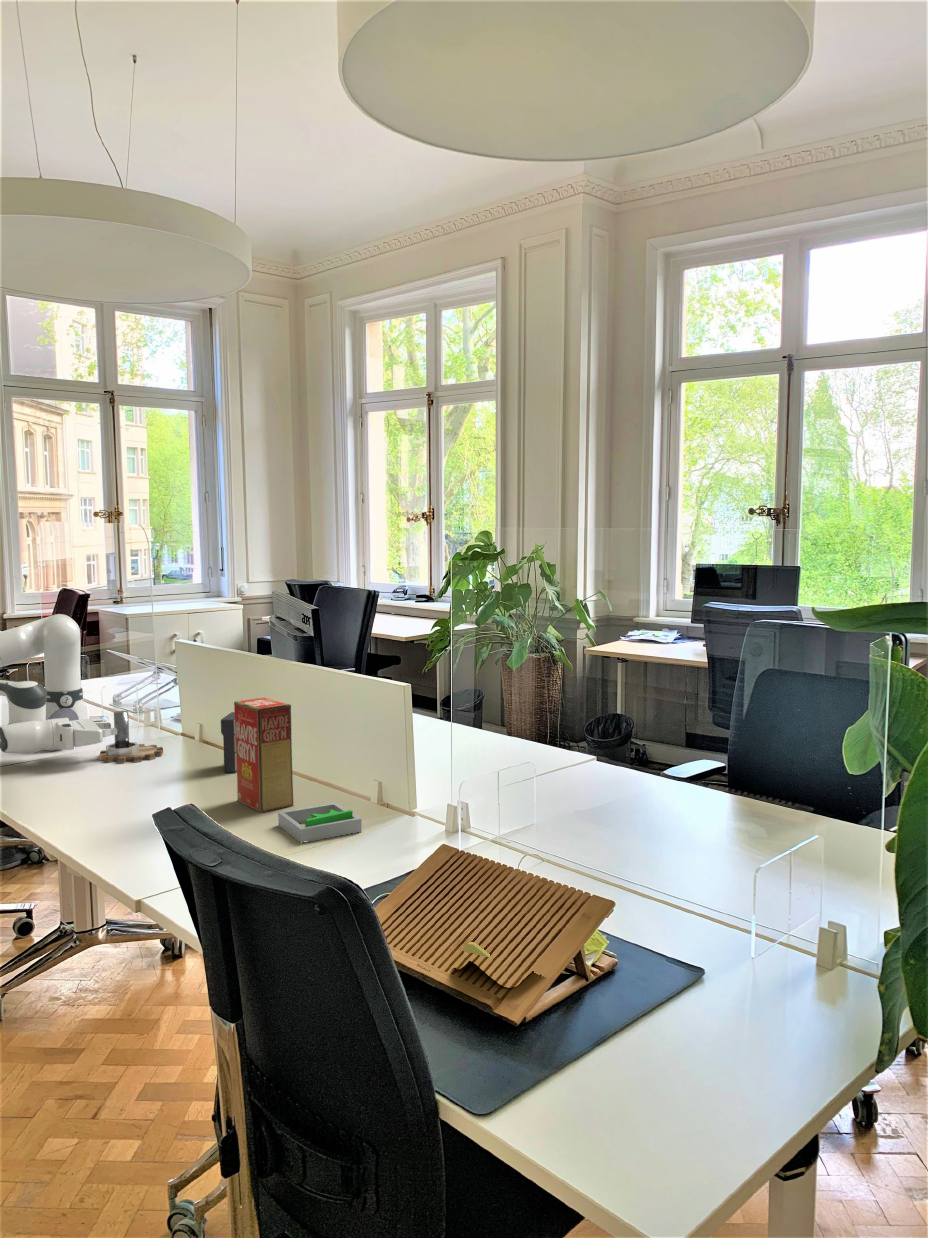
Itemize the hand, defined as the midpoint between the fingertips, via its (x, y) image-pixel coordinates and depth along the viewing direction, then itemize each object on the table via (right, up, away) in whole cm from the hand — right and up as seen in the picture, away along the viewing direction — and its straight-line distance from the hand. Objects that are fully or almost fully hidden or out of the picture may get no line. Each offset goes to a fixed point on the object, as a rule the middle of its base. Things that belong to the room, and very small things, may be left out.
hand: (113, 728), depth 262 cm
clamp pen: (+71, -15, -63) cm, 96 cm away
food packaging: (+54, -13, -44) cm, 71 cm away
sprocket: (+4, -9, +4) cm, 10 cm away
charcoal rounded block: (+38, -10, -10) cm, 41 cm away
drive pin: (+2, -7, +2) cm, 8 cm away
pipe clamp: (+73, -15, -66) cm, 99 cm away
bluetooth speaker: (-24, -8, +20) cm, 32 cm away
